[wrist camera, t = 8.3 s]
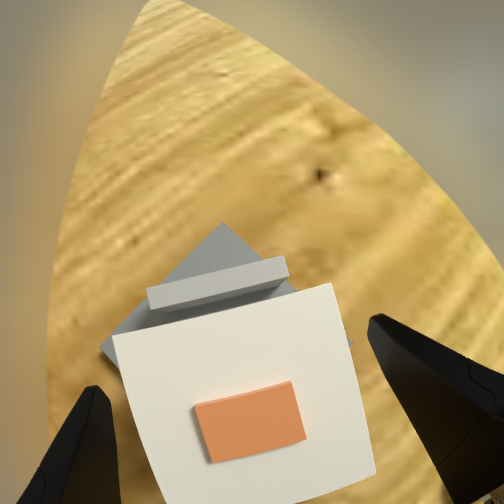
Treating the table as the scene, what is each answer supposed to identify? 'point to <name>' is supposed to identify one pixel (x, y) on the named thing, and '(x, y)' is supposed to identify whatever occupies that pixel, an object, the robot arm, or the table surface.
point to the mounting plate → (194, 266)
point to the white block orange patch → (249, 402)
